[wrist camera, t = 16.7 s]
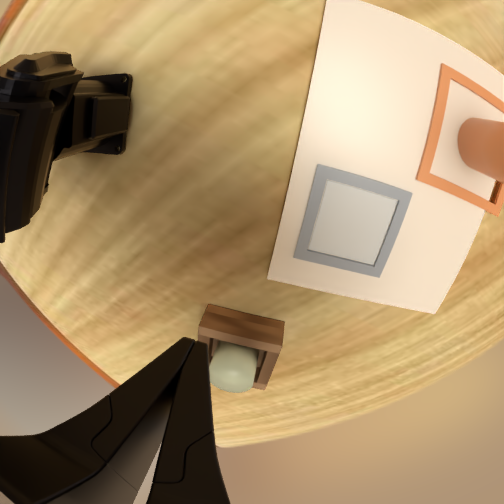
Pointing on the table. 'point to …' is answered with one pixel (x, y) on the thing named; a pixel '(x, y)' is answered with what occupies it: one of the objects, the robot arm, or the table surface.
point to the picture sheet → (386, 162)
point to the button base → (244, 337)
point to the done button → (233, 367)
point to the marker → (483, 146)
